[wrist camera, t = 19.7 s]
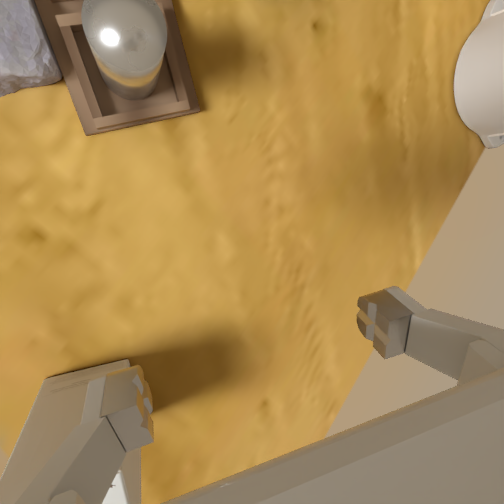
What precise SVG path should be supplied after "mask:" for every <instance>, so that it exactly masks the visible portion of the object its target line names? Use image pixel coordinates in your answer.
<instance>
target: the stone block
mask: <svg viewBox="0 0 504 504" xmlns="http://www.w3.org/2000/svg"><path fill="white" fill-rule="evenodd" d="M62 75H63V74H62V72H61V69H60V66H59V64H58V61H57V59H56V56H55V53H54V51H53V48H52V45H51V43H50V40H49V38H48V35H47V32H46V30H45V27H44V24H43V22H42V19H41V17H40V14H39V11H38V9H37V6H36V3H35V1H34V0H0V97H1V96H4V95H7V94H10V93H15V92H16V91H18V90H19V89H22V88H27V87H32V88H33V87H39V86H45V85H49V84H52V83H56V82H57V81H60V80H61V78H62Z"/></svg>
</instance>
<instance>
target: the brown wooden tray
mask: <svg viewBox="0 0 504 504" xmlns="http://www.w3.org/2000/svg"><path fill="white" fill-rule="evenodd" d="M34 1H35V3H36V6H37V9H38V11H39V14H40V17H41V19H42V22H43V24H44V27H45V30H46V32H47V35H48V38H49V40H50V43H51V45H52V48H53V51H54V53H55V56H56V59H57V61H58V64H59V66H60V69H61V72H62V74H63V77H64V80H65V82H66V85H67V87H68V90H69V93H70V95H71V98H72V101H73V103H74V106H75V108H76V111H77V114H78V116H79V119H80V122H81V124H82V127H83V129H84V132H85V135H86V136H89V135H94V134H99V133H103V132H108V131H113V130H118V129H122V128H127V127H132V126H137V125H141V124H146V123H151V122H156V121H160V120H165V119H170V118H175V117H179V116H184V115H189V114H194V113H198V112H200V108H199V104H198V100H197V97H196V93H195V89H194V85H193V81H192V77H191V73H190V70H189V66H188V62H187V58H186V54H185V50H184V47H183V43H182V39H181V35H180V31H179V27H178V23H177V20H176V16H175V12H174V8H173V4H172V0H155V1H156V3H157V4H158V6H159V7H160V9H161V11H162V13H163V16H164V19H165V22H166V27H167V43H166V47H165V52H164V56H163V60H162V65H161V69H160V73H159V78H158V82H157V85H156V88H155V89H154V91H153V92H152V93H151V94H150V95H149V96H148V97H146V98H144V99H141V100H134V101H133V100H127V99H124V98H121V97H119V96H118V95H116V94H115V93H113V92H112V91H111V90H110V89H109V88H108V86H107V85H106V83H105V82H104V80H103V78H102V75H101V73H100V70H99V68H98V65H97V63H96V60H95V58H94V55H93V53H92V50H91V48H90V45H89V43H88V40H87V38H86V35H85V32H84V30H83V25H82V18H81V11H82V4H83V1H84V0H34Z"/></svg>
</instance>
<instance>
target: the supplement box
mask: <svg viewBox="0 0 504 504" xmlns="http://www.w3.org/2000/svg"><path fill="white" fill-rule="evenodd" d="M129 367H130V363H129V360H128V359H126V360H121V361H117V362H113V363H109V364H105V365H100V366H96V367H92V368H88V369H84V370H79V371H75V372H71V373H67V374H63V375H58V376H54V377H50V378H46V379H44V381H43V383H42V386H41V388H40V390H39V393H38V395H37V397H36V399H35V402H34V404H33V406H32V408H31V411H30V413H29V415H28V417H27V420H26V422H25V424H24V427H23V429H22V431H21V433H20V436H19V438H18V440H17V443H16V445H15V447H14V449H13V452H12V454H11V456H10V458H9V460H8V463H7V465H6V468H5V470H4V472H3V474H2V477H1V479H0V504H15V502H16V501H17V500H18V499H19V497H20V496H21V495H22V494H23V492H24V491H25V490H26V488H27V487H28V486H29V485H30V483H31V482H32V481H33V480H34V478H35V477H36V476H37V474H38V473H39V472H40V471H41V469H42V468H43V467H44V466H45V464H46V463H47V462H48V460H49V459H50V458H51V457H52V455H53V454H54V453H55V452H56V450H57V449H58V448H59V446H60V445H61V444H62V443H63V441H64V440H65V439H66V438H67V436H68V435H69V434H70V432H71V431H72V430H73V429H74V427H75V426H78V425H80V424H81V419H82V414H83V409H84V404H85V399H86V393H87V388H88V383H89V381H90V380H91V378H94V377H98V376H102V375H105V374H108V373H111V372H115V371H118V370H122V369H125V368H129ZM102 504H141V447H139V448H136V449H134V450H131V451H129V452H126V456H125V458H124V460H123V462H122V464H121V466H120V468H119V470H118V472H117V474H116V476H115V478H114V480H113V482H112V484H111V486H110V488H109V490H108V492H107V494H106V496H105V498H104V500H103V502H102Z"/></svg>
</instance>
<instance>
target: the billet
mask: <svg viewBox="0 0 504 504" xmlns="http://www.w3.org/2000/svg"><path fill="white" fill-rule="evenodd" d="M81 18H82V25H83V30H84V32H85V35H86V38H87V40H88V43H89V45H90V48H91V50H92V53H93V55H94V58H95V60H96V63H97V65H98V68H99V70H100V73H101V75H102V78H103V80H104V82H105V83H106V85H107V86H108V88H109V89H110V90H111V91H112V92H113V93H115V94H116V95H118V96H119V97H121V98H124V99H127V100H133V101H134V100H141V99H144V98H146V97H148V96H149V95H150V94H151V93H152V92H153V91H154V89H155V88H156V85H157V82H158V78H159V73H160V69H161V65H162V60H163V56H164V52H165V47H166V43H167V27H166V22H165V19H164V16H163V13H162V11H161V9H160V7H159V6H158V4H157V3H156V1H155V0H84V1H83V4H82V11H81Z"/></svg>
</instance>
